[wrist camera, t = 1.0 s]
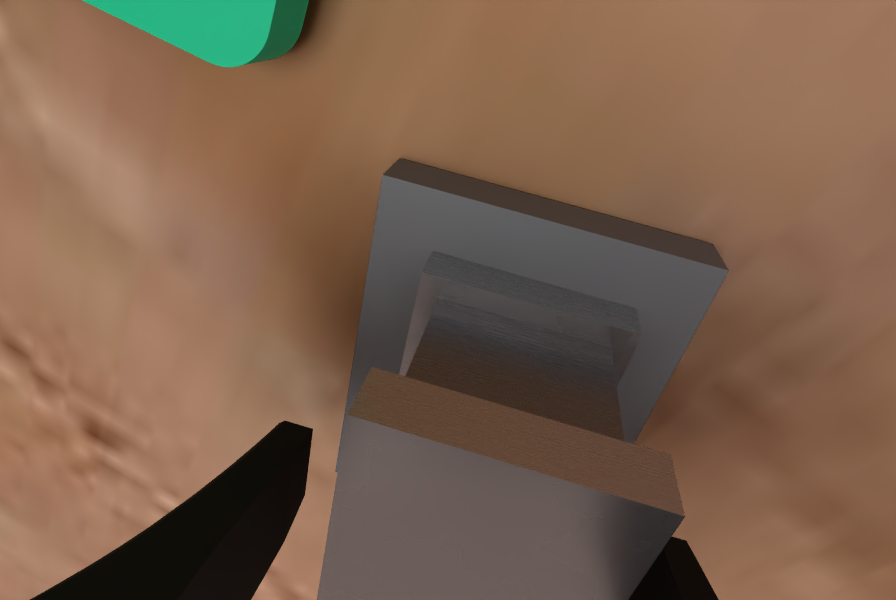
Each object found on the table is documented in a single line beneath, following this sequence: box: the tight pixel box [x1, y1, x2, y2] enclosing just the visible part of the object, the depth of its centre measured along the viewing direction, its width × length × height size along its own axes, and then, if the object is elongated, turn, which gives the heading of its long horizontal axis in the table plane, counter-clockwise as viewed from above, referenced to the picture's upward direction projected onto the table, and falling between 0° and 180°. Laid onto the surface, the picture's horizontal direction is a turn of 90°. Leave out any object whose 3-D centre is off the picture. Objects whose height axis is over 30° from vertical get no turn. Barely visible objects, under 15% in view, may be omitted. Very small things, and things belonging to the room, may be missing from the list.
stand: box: [336, 158, 729, 472], centre depth 15 cm, size 8×10×2 cm
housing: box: [317, 251, 685, 600], centre depth 12 cm, size 5×7×6 cm
